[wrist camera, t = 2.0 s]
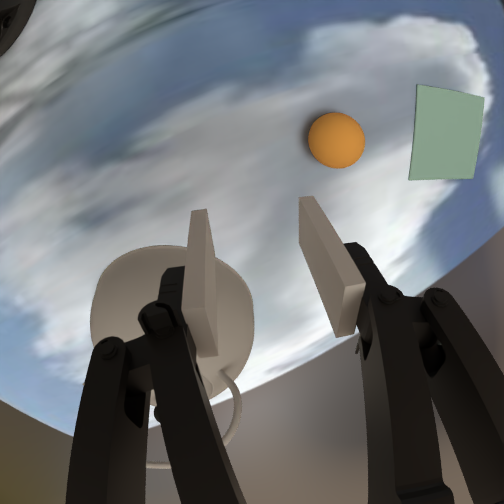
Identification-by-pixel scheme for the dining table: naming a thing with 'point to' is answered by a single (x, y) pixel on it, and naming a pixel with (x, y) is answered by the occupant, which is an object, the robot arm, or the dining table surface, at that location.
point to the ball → (336, 140)
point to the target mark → (445, 134)
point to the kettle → (147, 289)
